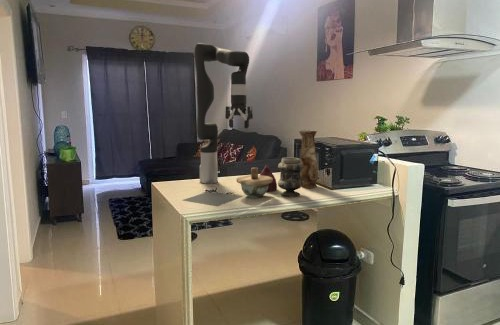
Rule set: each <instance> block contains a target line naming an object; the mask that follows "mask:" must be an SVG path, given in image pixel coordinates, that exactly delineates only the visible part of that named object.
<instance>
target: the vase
mask: <svg viewBox="0 0 500 325" xmlns="http://www.w3.org/2000/svg"><path fill="white" fill-rule="evenodd" d="M298 132H299V134H300V136H301V149H300V158H299V160H300V163H301V164H302V165H303V168H302V169H301V170H300V180H301V181H302V182H303V185H302V187H301V188H306V189H315V188H317V187H318V185H317V182H318V179H319V167H318V158H317V152H316V143H315V136H316V134H317V132H318V130H317V129H312V130H311V129H308V130H307V129H300V130H298Z"/></svg>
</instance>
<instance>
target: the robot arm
mask: <svg viewBox="0 0 500 325" xmlns="http://www.w3.org/2000/svg"><path fill="white" fill-rule="evenodd" d="M194 61H195V62H194V64H195V70H196V99H197V101H196V102H197V103H196V104H197V105H196V106H197V118H196V119H197V121H196V122H197V123H196V134H197V138H198V140H200V141H205V140H206V141H208V140H209V141H208V142H207V143H206V144H204V145H202V146H200V151H199V152H200V165H199V168H198V169H199V182H200V183H201V184H216V183H218V181H219V179H218V177H219V176H218V175H219V174H218V144H219V142H218V141H219V140H218V139H219V129H218V128H219V127H218V125H217V123H216V122H206V116H207V113H208V111H209V109H210V108H211V105H212V104H213V103H214V100H215V87H214V83H213V81H212V79H211V78H210V77H209V74H208V73H207V71H206V65H205V62H206V63H207V62H209V63H210V62H216V61H218V62H219V63H221V64H224V65H228V66H230V67H238V69H237V71H233V72H231V75H230V83H231V85H230V105H229V106H228V105H227V106H225V116H224V117H225V119H227V120H228V127H229V128H230V129H233V128H234V118H235V117H236V116H240V117H242V118H243V119H244V122H243V124H244V129H248V128H249V126H250V120H253V116H254V115H253V107H252V106H247V80H246V79H247V73H248V69H249V64H250V56H249V54H248V53H247V52H246V51H241V50H239V51H238V50H231V49H227V48H220V47H217V46H216V45H214V44H211V43H202V42H198V43H196V45H195V47H194Z"/></svg>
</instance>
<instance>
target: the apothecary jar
mask: <svg viewBox="0 0 500 325" xmlns="http://www.w3.org/2000/svg"><path fill="white" fill-rule="evenodd" d="M277 168H278V169H279V172H280V176H279V177H280V178H279V179H278V181H277V187H278V188H280V189H282V190H284V191H282V192H280V194H279V196H280V195H281V197H283V198H298V197H300V196H301V194H300V192H297V191H296V190H299V189H301V188H303V187H302V185H303V182H302V181H301V180H300V170H301V169H302V168H303V165H302V164H301V163H300V158H299V157H282V158H281V162H279V163H278V166H277Z"/></svg>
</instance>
